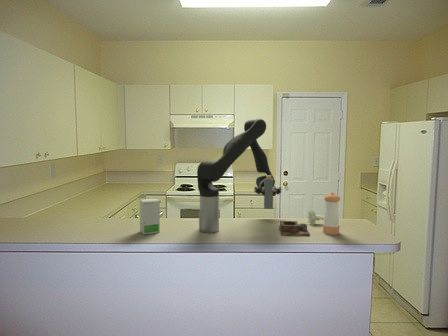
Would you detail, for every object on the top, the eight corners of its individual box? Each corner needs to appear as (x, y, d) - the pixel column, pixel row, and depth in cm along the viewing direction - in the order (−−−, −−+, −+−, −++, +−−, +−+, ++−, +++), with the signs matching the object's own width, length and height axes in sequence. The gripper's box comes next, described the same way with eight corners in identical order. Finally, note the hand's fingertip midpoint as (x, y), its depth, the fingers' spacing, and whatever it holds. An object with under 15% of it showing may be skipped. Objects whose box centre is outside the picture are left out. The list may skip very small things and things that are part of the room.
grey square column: (264, 208, 150) (264, 176, 148) (263, 206, 154) (264, 174, 152) (272, 208, 150) (273, 176, 148) (272, 206, 154) (272, 175, 152)
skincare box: (143, 235, 147) (141, 202, 145) (139, 231, 153) (138, 199, 151) (160, 232, 151) (159, 200, 149) (156, 228, 157) (156, 197, 155)
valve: (308, 225, 162) (332, 226, 160) (308, 212, 162) (333, 213, 160) (307, 221, 169) (330, 222, 167) (307, 209, 168) (330, 210, 166)
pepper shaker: (335, 236, 146) (336, 195, 143) (320, 232, 150) (321, 192, 148) (341, 232, 151) (343, 192, 149) (326, 229, 156) (328, 190, 154)
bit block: (280, 235, 147) (281, 226, 146) (278, 227, 159) (278, 219, 158) (309, 235, 146) (309, 227, 145) (305, 228, 157) (305, 220, 157)
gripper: (253, 179, 165) (253, 185, 148) (280, 179, 164) (284, 185, 147) (253, 193, 166) (253, 201, 149) (280, 194, 165) (284, 201, 148)
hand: (269, 193), depth 148 cm, fingers closed on grey square column, 4 cm apart
